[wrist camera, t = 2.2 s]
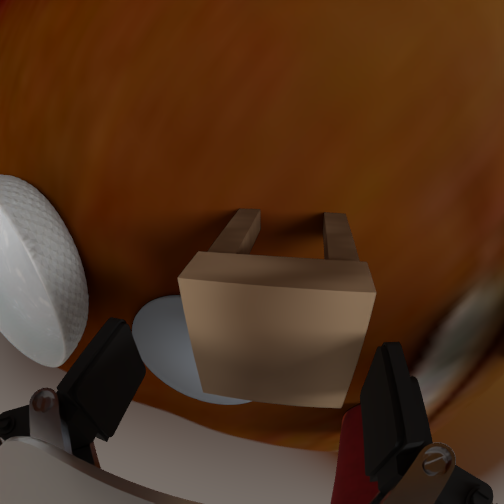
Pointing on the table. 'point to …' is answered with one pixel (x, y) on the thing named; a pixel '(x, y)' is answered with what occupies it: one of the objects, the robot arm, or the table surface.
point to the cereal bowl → (39, 276)
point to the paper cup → (352, 463)
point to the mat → (171, 348)
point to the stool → (277, 316)
